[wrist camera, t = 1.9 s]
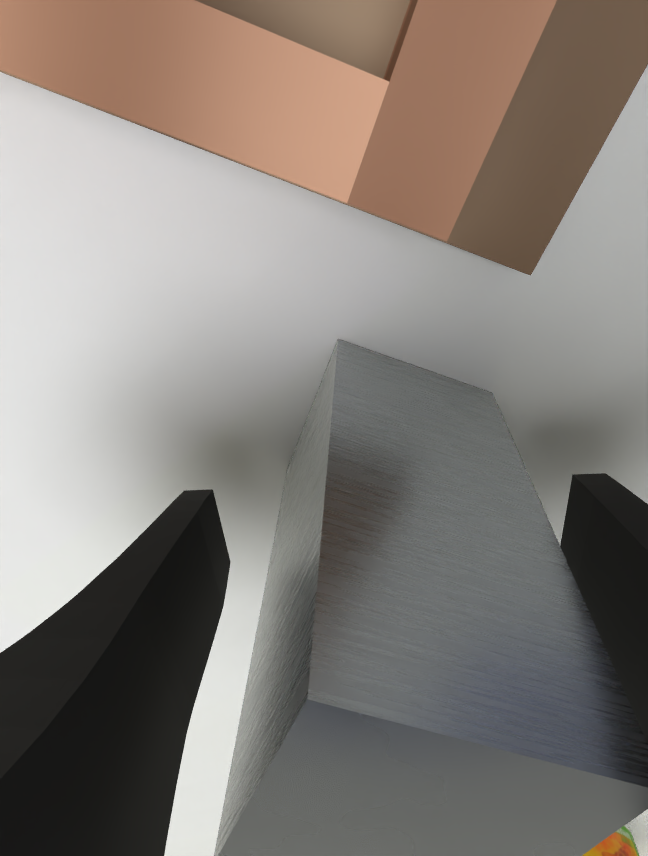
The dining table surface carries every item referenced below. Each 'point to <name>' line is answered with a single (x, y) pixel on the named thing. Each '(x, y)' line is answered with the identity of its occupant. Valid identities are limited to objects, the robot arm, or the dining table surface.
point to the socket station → (363, 96)
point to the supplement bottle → (616, 845)
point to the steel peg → (423, 645)
